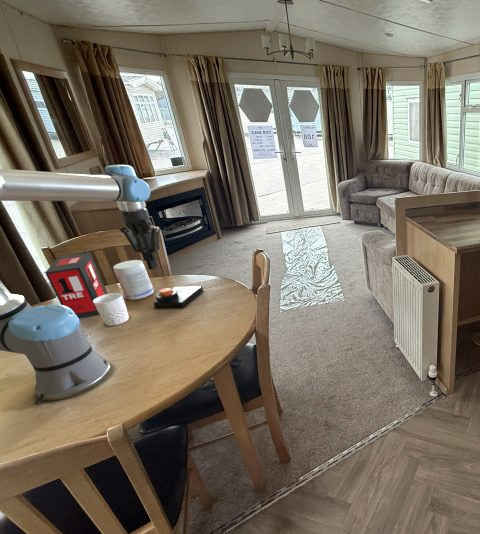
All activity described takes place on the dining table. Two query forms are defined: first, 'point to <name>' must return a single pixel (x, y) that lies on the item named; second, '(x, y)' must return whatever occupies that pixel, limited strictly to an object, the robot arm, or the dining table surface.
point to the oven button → (165, 292)
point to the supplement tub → (133, 279)
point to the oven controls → (178, 297)
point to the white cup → (111, 308)
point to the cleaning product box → (77, 283)
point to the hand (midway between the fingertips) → (153, 268)
